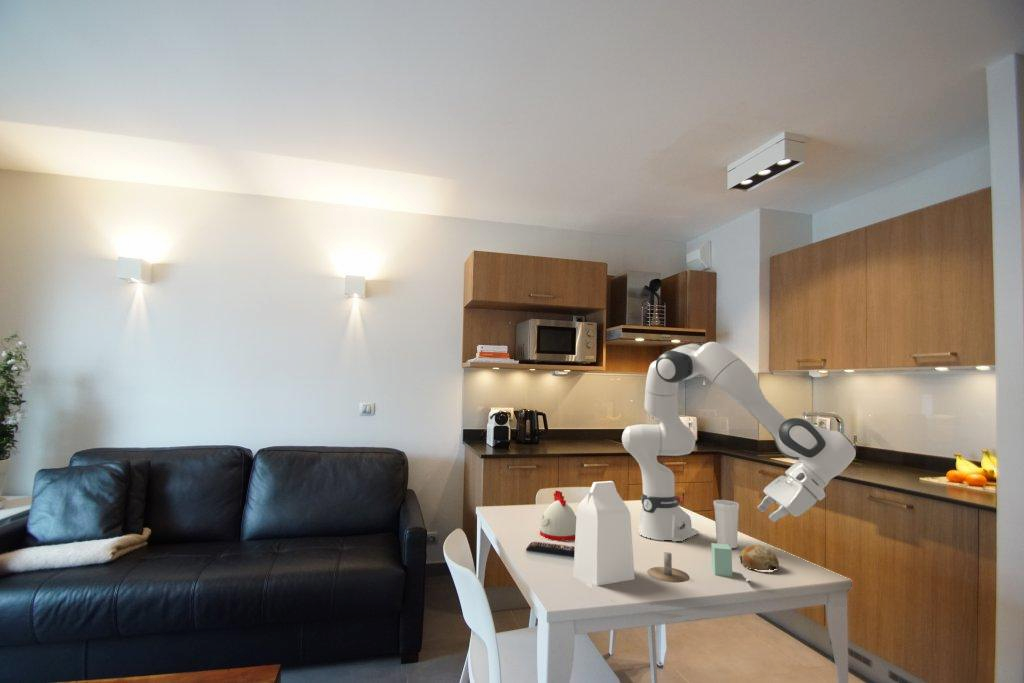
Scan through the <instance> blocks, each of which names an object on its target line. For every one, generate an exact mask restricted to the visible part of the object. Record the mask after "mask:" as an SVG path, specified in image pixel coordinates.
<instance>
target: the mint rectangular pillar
mask: <svg viewBox="0 0 1024 683" xmlns="http://www.w3.org/2000/svg"><path fill="white" fill-rule="evenodd" d="M710 545H711V548H710V549H711V570H712V572H713V574H714V575H715V576H721V577H731V578H732V577H733V553H732V552H733V550H732V549H733V548H730V547H729V545H728V544H717V542H716V543H715V542H711V543H710Z"/></svg>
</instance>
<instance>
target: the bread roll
mask: <svg viewBox="0 0 1024 683" xmlns="http://www.w3.org/2000/svg"><path fill="white" fill-rule="evenodd" d="M737 558H738V559H739V560H740V563H741V565H742V564H743V565H744V566H746V567H748V568H751V569H757V570H769V569H770V570H774V569H778V570H779V569H780V568H779V567H780V561H779V559H778V557H777V556H776V554H775V553H774V552H773V551H772V550H771V549H770V548H769V547H765V546H762V545H758V544H752V545H749V546H746V547H745V548H743V549H742V550H741V553H739V554H738V556H737ZM743 565H742V566H743ZM744 566H743V567H744ZM746 567H745V568H746Z"/></svg>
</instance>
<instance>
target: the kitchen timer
mask: <svg viewBox="0 0 1024 683" xmlns="http://www.w3.org/2000/svg"><path fill="white" fill-rule="evenodd" d="M553 498H554V501H553V502H551V504H549V506H548V507H547V508H546V510H545V511H544V513H543V514H541V516H540V527H539V536H540V535H541V536H543V537H545V538H548V539H547V540H549V539H552V540H551V541H554V540H559V541H558V542H568V541H567V540H571V541H575V540H574V539H575V534H576V516H577V515H576V514H575V512H574V510H573V508H572V507H571V506H570V505H569V504H568V503H567V501H566V500H565V496H564V495H563V492H562V491H561V490H555V492H554V493H553ZM541 536H540V537H541ZM543 537H542V538H543ZM545 538H544V539H545ZM562 540H563V541H562Z"/></svg>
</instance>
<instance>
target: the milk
mask: <svg viewBox="0 0 1024 683" xmlns="http://www.w3.org/2000/svg"><path fill="white" fill-rule="evenodd" d="M616 487H617V486H616V484H615V482H614V481H612V480H606V481H594V482H592V484H591V486H590V490H589V492H588V493H587V494H586V495H585V497H584V498H583V499H582V500H581V501H580V502H579V504H578V505H577V507H576V515H575V516H576V534H575V540H574V558H573V577H574V578H576V579H577V580H579V582H582V584H584V585H586V586H587V587H589V588H590V589H592V586H593V585H594V586H596V587H597V586H604V585H609V584H610V585H611V584H613V583H614V584H616V583H620V582H627V581H632V580H636V578H635V566H634V565H635V564H634V550H633V549H634V548H633V534H632V533H633V532H632V517H631V512H630V509H629V508H628V506H627V504H626V503H625V502H624V500H623V499H622V497H621V495H620V494H619V493H618V491H617V488H616Z"/></svg>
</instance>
